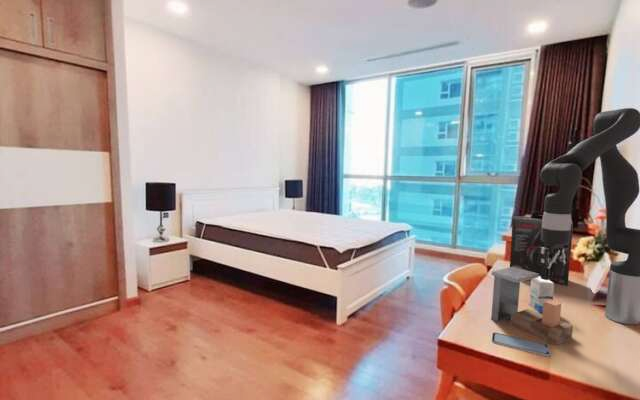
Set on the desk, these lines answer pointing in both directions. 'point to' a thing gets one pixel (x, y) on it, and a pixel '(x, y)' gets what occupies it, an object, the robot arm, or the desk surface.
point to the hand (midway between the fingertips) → (551, 277)
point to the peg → (551, 313)
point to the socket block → (540, 327)
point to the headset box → (533, 246)
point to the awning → (508, 291)
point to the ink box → (540, 292)
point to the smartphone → (521, 344)
